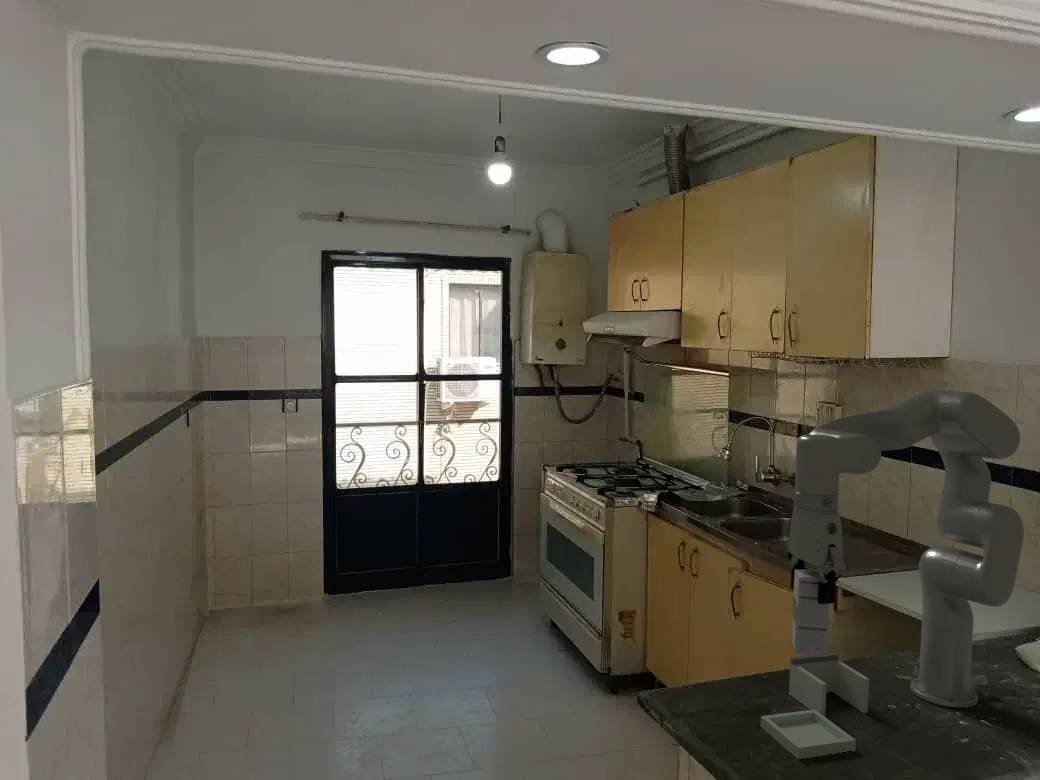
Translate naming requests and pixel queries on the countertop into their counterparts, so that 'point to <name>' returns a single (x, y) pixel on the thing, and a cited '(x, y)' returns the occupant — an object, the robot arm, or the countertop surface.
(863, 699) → the bay
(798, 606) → the syrup box
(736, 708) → the countertop surface
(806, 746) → the tray
